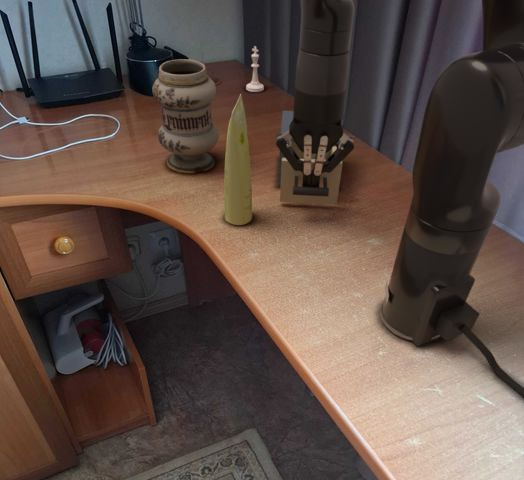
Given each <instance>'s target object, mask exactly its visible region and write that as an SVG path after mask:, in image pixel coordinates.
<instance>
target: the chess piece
mask: <svg viewBox="0 0 524 480" xmlns="http://www.w3.org/2000/svg"><path fill="white" fill-rule="evenodd" d="M251 51H252V52H253V53H252V54H251V60H252V64H251V65H250V67H251V68H252V77H251V81H250V82H249V83H247V84H246V86H245V90H246V91H248V92H251V93H259V92H263V91H264V90H265V85H264V84H262V83H260V81H259V75H258V68H259V67H260V64H258V61H259V57H260V54H259V53H258V52H259V49H257V46H256V45H253V48H251Z"/></svg>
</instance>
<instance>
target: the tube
mask: <svg viewBox="0 0 524 480" xmlns="http://www.w3.org/2000/svg"><path fill="white" fill-rule="evenodd" d="M248 134H249V133H248V126H247V118H246V112H245V107H244V102H243V98H242V93H240V94H239V96H238V98H237V101H236V103H235V106H234V108H233V110H232V112H231V117H230V119H229V122H228V126H227V134H226V142H225V143H226V144H225V158H224V181H223V182H224V183H223V186H224V187H223V189H224V190H223V191H224V193H223V195H224V198H223V199H224V202H223V204H224V206H223V207H224V210H223V211H224V219H225V221H226V222H227V223H228V224H231V225H236V226H243V225H246V224H248V223H250V222H251V221H252V219H253V190H252V189H253V188H252V167H251V154H250V143H249V135H248Z"/></svg>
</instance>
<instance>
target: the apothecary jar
mask: <svg viewBox="0 0 524 480" xmlns="http://www.w3.org/2000/svg"><path fill="white" fill-rule="evenodd" d="M158 72H159V73H158V77H157V78H156V80H155V81H154V83H153V84H152V95H153V97H154V99H155V100H156V102H158V104H160V109H161V116H162V117H161V118H162V124H161V125H160V127H159V128H158V131H157V137H158V142H159V144H160V145H161V147H163V148H164V149H165V150H167V151H168V152H170V153H172V154H171V155H170V156H169V157H168V158H167V160H166V165H167V167H168V168H169V169H171V170H172V171H174V172H176V173H180V174H196V173H199V172H206V171H208V170H210V169H212V168H214V166H215V163H216V162H215V158H214V157H213V156H212V155H211V154H210V153H208V152H209V151H211V150H212V149H213V148H214V147H215V146H216V145H217V143H218V141H219V139H220V138H219V137H220V133H219V129H218V127H217V126H216V124H215V123H214V122H213V119H212V107H211V105H212V104H211V103H212V102H213V100H214V99H215V97H216V94H217V87H216V84H215V82H214V81H213V79H212V78H211V77H210V76H209V75H208V72H207V68H206V65H205V64H204V63H202V62H201V61H199V60H198V61H197V60H196V59H195V60H194V59H186V58H183V59H181V58H180V59H172V60H167V61H165V62H163V63H162V64H160V65H159V68H158Z"/></svg>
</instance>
